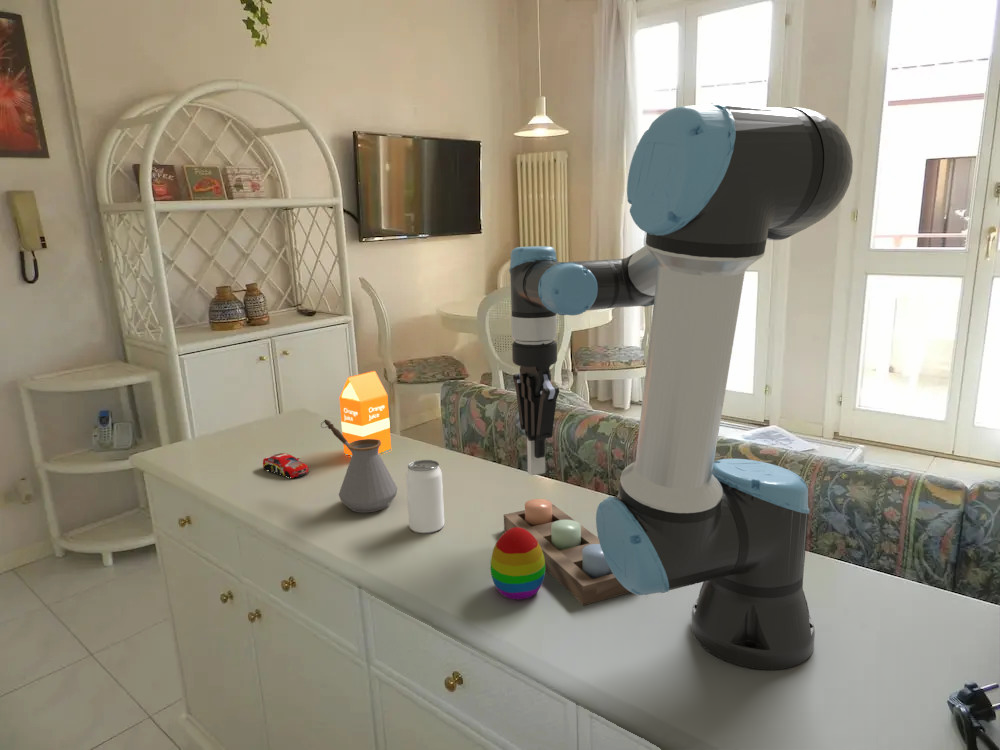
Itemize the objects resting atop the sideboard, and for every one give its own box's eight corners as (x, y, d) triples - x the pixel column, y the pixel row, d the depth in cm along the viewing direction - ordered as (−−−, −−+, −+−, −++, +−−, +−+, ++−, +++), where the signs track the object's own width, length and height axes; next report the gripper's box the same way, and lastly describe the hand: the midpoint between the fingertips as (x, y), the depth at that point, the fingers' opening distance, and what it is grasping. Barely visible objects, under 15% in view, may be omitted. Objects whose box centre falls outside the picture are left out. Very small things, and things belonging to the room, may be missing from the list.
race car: (313, 475, 156) (311, 458, 155) (292, 482, 151) (291, 465, 151) (280, 463, 164) (279, 447, 163) (260, 470, 160) (258, 454, 159)
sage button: (586, 549, 111) (586, 528, 110) (560, 556, 109) (560, 534, 108) (571, 537, 115) (571, 517, 115) (546, 543, 114) (546, 523, 113)
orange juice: (391, 450, 170) (386, 372, 166) (364, 460, 163) (358, 379, 159) (370, 445, 175) (364, 368, 170) (343, 454, 168) (336, 375, 164)
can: (438, 535, 122) (435, 471, 120) (404, 533, 123) (400, 470, 121) (448, 520, 128) (445, 459, 126) (415, 518, 130) (412, 458, 127)
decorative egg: (505, 572, 108) (503, 513, 106) (553, 582, 105) (552, 522, 103) (482, 598, 101) (479, 535, 99) (533, 609, 98) (531, 545, 95)
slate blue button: (620, 577, 102) (620, 554, 101) (593, 584, 100) (593, 561, 99) (603, 563, 106) (603, 541, 106) (576, 570, 105) (576, 547, 104)
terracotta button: (557, 526, 120) (556, 506, 119) (532, 531, 118) (532, 511, 117) (544, 516, 124) (544, 497, 124) (520, 521, 122) (520, 502, 122)
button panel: (641, 588, 102) (641, 570, 101) (583, 605, 98) (583, 586, 98) (553, 519, 127) (552, 504, 127) (504, 530, 123) (503, 514, 123)
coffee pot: (409, 504, 136) (404, 432, 133) (359, 522, 129) (353, 446, 126) (353, 478, 152) (348, 413, 149) (305, 493, 144) (299, 424, 141)
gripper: (573, 344, 110) (573, 481, 115) (536, 332, 122) (538, 457, 127) (531, 348, 107) (533, 489, 112) (498, 336, 119) (501, 464, 124)
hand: (536, 472), depth 120 cm, fingers closed
